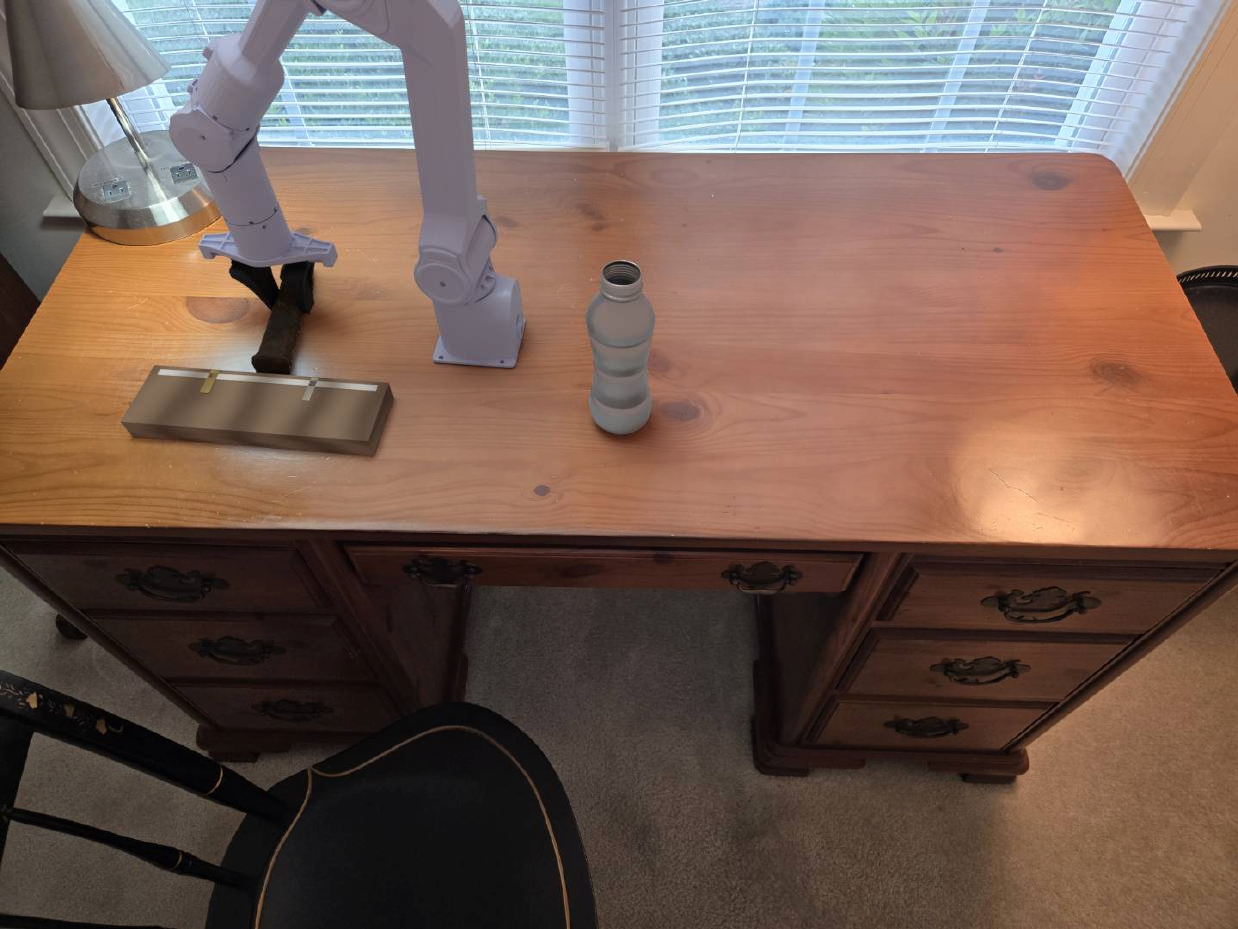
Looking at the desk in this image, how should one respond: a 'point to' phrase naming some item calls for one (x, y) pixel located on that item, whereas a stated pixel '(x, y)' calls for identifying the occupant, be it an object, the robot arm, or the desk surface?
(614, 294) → the plastic bottle
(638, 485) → the desk surface
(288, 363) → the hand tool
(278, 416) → the grey brown flat box
